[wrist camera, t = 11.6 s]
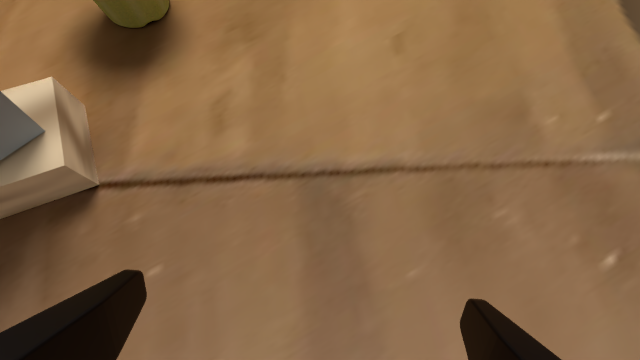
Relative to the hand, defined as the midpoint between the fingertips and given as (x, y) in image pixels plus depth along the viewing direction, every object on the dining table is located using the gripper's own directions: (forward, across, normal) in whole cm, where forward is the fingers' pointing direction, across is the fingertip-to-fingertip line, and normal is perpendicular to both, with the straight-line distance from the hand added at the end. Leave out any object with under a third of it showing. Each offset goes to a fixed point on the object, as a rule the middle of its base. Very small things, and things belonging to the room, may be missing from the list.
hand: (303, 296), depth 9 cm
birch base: (+16, +22, +4) cm, 28 cm away
